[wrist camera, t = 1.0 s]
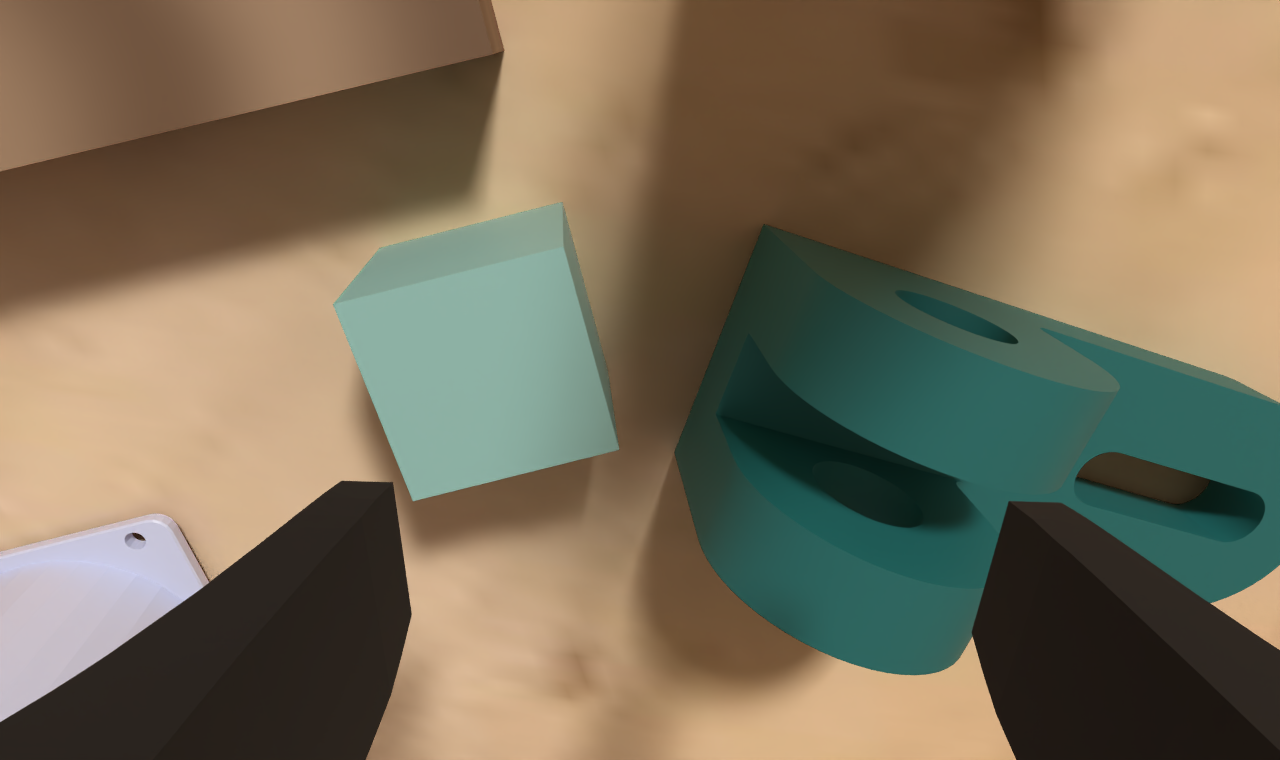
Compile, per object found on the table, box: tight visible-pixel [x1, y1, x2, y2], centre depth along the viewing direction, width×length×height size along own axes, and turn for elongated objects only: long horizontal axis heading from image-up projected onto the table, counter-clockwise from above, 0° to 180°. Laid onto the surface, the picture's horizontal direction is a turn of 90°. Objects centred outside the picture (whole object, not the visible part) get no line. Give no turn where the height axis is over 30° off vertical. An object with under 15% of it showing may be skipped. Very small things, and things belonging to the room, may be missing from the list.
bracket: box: [674, 224, 1280, 675], centre depth 20 cm, size 18×7×8 cm, turn 71°
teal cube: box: [333, 202, 619, 501], centre depth 19 cm, size 5×5×5 cm
